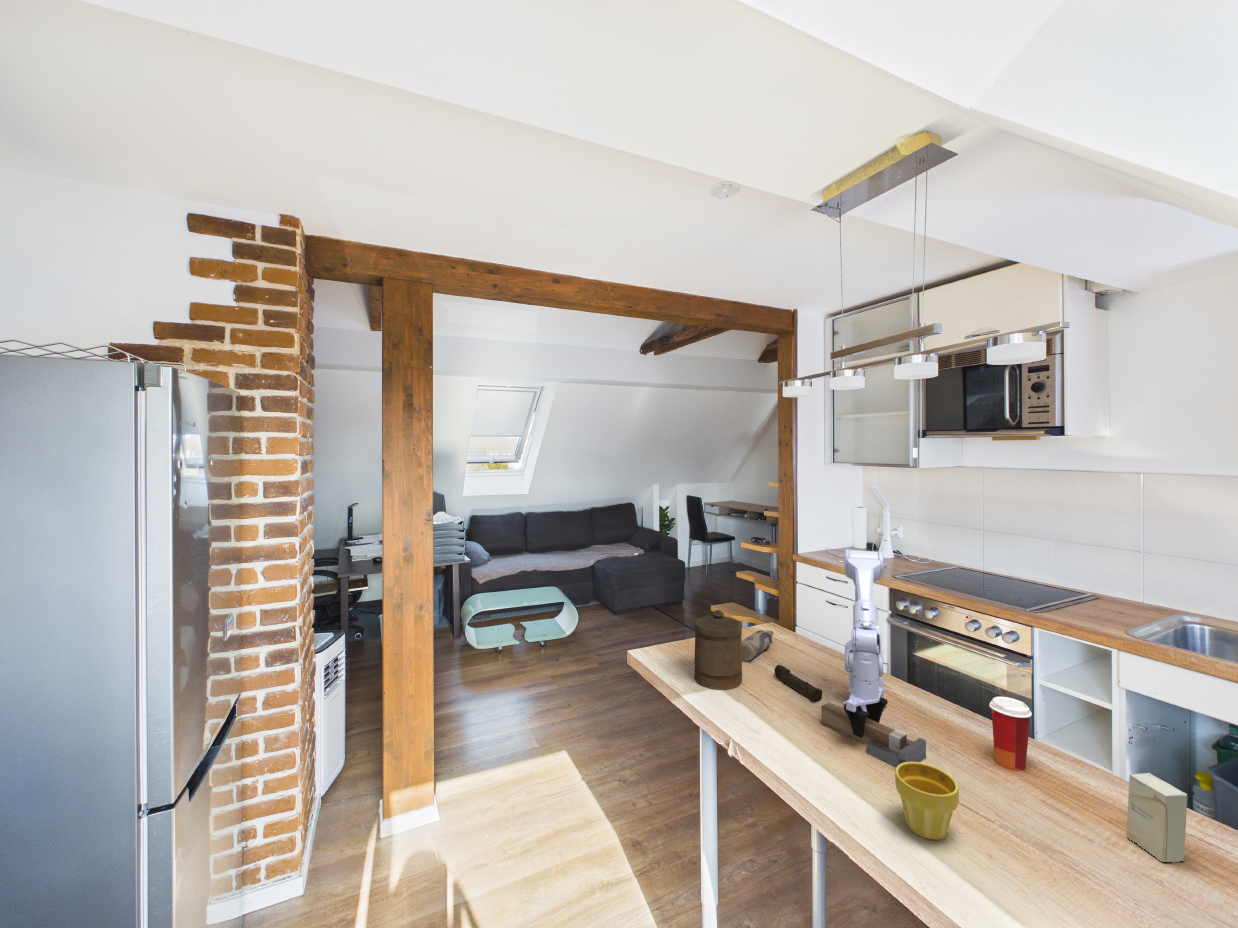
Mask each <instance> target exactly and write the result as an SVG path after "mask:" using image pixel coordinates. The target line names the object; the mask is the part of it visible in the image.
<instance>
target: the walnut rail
mask: <svg viewBox="0 0 1238 928" xmlns="http://www.w3.org/2000/svg"><path fill="white" fill-rule="evenodd" d="M821 725H822V726H824V727H826V728H828V729H830V730H833V731H834V732H837V733H839V734H841V735H843V736H845V737H848V738H850V739H852V740H854V741H856V742H858V743H860V744H863V745H865V746H867V742H868V741H870V740H873V741H875V742H877V743H879V744H881V745H884V746H886V747H888V748H890V749H892V750H894V751H896V752H898V753H899V751H900V750H901V749H903V748H904V747H906V746H907V739H908V738H907V737H908V734H907V733H906V732H904V731H901V730H899V729H895V728H893V727H890V726H887V725H885V724H883V723H880V722H879V723H878V722H876V721H873V720H871V719H869V718H867V719H866V722H865V728H864V735H863V737H862V738H860V737H858V736H855V735H854V734H853V731H852V727H851V723H850V720H849V717H848V715H847V713H846V712H845V710H844V706H843V707H842V706H840V705H838V704H835V703H833V702H830V701H828V702H826V703H824V704H822V705H821Z"/></svg>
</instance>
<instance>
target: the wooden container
mask: <svg viewBox="0 0 1238 928" xmlns="http://www.w3.org/2000/svg"><path fill="white" fill-rule="evenodd" d="M694 632H695V633H694V634H695V635H694V640H695V641H694V680H695V681H696V682H697V684H699V685H701V686H703V687H705V688H708V689H712V690H731V689H736V688H737V687H739V686H741V684H742V683H743V661H742V642H741V641H742V632H743V625H742V622H740V620H738V619H736V618H733V617H730V616H729V617H728V616H725V613H724V612H723V611H722V610H720V609H715V610H714V611H712V615H705V616H701V617H699V618H697V619H696V620H695V624H694Z"/></svg>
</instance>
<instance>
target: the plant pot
mask: <svg viewBox="0 0 1238 928" xmlns="http://www.w3.org/2000/svg"><path fill="white" fill-rule="evenodd" d="M894 776H895V777H894V778H895V781H894V782H895V784H894V785H895V789H896V791H897V793H898V795H899V796H900V799H901V805H902V808H903V809H902V810H903V812H904V817H905V818H904V819H905V822H906V825H907V826H908V828H909V829H910V830H911V831H912V832H914V833H915V834H917V835H918V836H920V837H922V838H924V839H928V840H934V841H935V840H938V841H939V840H942V839H944V838H945V837H946V836H947V834H948V831H949V827H950V825H951V824H950V823H951V820H952V816H953V813H954V812H955V810H956V809H957V808H958V806H959V800H960V799H959V798H960V786H959V784H958V782H957V780H956V779H955V778H954V777H953V776H952V775H951V774H950V773H948V772H946V771H945V770H943V769H941V768H939V767H937V766H935V765H932V764H929V763H924V762H921V761H920V762H905V763H901V764H899V765H898V766H897V767H895V771H894Z"/></svg>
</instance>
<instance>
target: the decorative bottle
mask: <svg viewBox="0 0 1238 928" xmlns="http://www.w3.org/2000/svg"><path fill="white" fill-rule="evenodd" d="M773 636H774V632H773V630H767V631H766V630H762V629H761V630H757V631H755V632H753V633H752V634H751V635H749V636H747V637H746V638H744V639H743V640H742V639H741V642H742V662H750V661H752V660H753V659H754V658H755V657H757V656H758V655H759V654H761V653H762V652H763V651H765V650H768V648H769V647H770V646H771V645H772V644H773V643H774V642H773V639H772V638H773Z"/></svg>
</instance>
